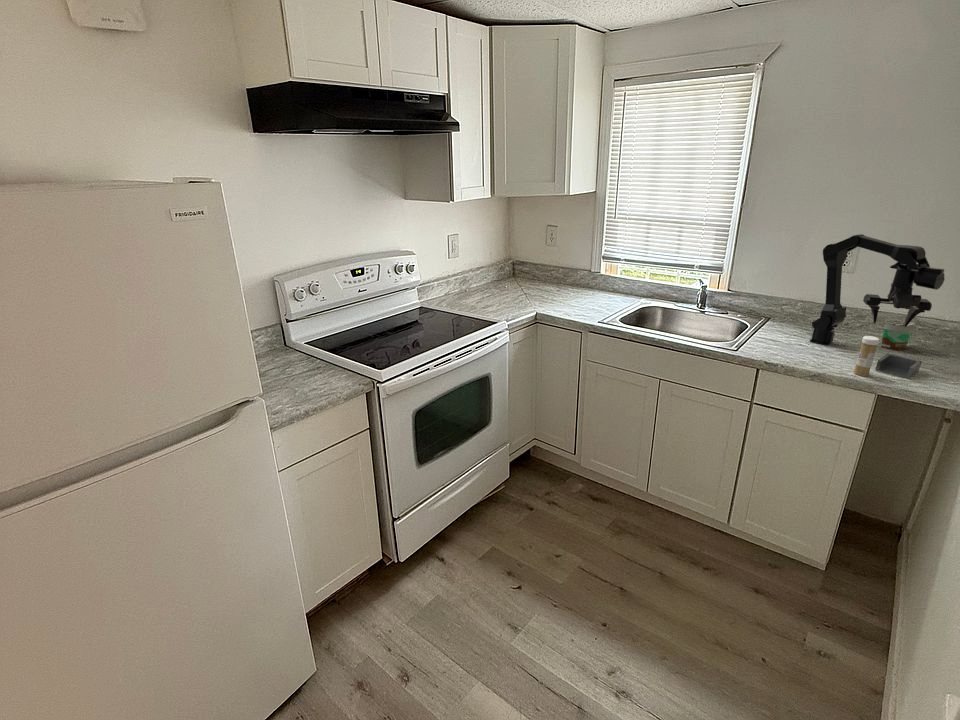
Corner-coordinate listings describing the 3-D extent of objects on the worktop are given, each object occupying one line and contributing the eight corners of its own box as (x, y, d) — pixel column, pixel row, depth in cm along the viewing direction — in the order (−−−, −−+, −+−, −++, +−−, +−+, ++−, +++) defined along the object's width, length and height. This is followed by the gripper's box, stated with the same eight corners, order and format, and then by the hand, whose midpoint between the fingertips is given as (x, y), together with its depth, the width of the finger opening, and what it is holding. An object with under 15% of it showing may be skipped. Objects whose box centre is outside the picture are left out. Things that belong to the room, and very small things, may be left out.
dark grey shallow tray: (874, 370, 183) (878, 360, 181) (884, 363, 188) (887, 353, 187) (909, 379, 175) (913, 368, 174) (918, 371, 181) (921, 361, 180)
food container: (893, 353, 198) (900, 328, 194) (877, 347, 204) (884, 323, 200) (917, 349, 201) (924, 324, 197) (901, 344, 207) (908, 320, 203)
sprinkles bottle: (850, 371, 182) (860, 335, 177) (862, 371, 182) (872, 335, 177) (860, 376, 178) (870, 340, 173) (872, 376, 178) (883, 339, 173)
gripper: (876, 285, 178) (863, 328, 184) (944, 291, 171) (928, 335, 177) (869, 278, 187) (857, 319, 194) (932, 283, 180) (918, 325, 187)
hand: (889, 324), depth 187 cm, fingers open, 9 cm apart
